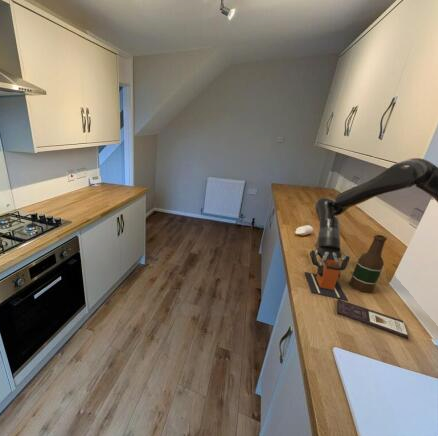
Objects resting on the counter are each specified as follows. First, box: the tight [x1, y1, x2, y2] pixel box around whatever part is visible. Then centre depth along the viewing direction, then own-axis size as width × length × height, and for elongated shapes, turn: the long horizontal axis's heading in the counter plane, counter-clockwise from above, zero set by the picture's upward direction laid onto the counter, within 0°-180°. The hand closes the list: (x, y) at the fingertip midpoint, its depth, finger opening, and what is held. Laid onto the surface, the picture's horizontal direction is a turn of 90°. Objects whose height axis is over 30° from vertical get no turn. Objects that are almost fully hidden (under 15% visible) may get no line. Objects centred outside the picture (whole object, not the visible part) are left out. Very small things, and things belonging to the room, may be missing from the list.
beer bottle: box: [349, 234, 388, 294], centre depth 96 cm, size 8×8×24 cm
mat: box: [304, 271, 349, 302], centre depth 101 cm, size 12×16×1 cm
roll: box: [294, 224, 314, 237], centre depth 150 cm, size 6×12×6 cm, turn 116°
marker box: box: [316, 259, 342, 290], centre depth 99 cm, size 5×8×10 cm, turn 157°
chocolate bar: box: [336, 299, 409, 340], centre depth 84 cm, size 9×1×18 cm
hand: (328, 277), depth 98 cm, fingers closed on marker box, 4 cm apart
